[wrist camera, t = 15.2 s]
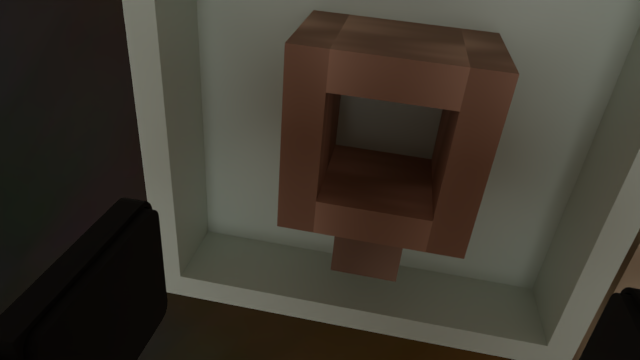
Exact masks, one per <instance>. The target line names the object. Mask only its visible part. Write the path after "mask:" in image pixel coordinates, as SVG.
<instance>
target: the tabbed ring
mask: <svg viewBox="0 0 640 360" xmlns="http://www.w3.org/2000/svg"><path fill="white" fill-rule="evenodd" d="M518 78H519V72H518V70H517V68H516V66H515V64H514V62H513V60H512V58H511V56H510V54H509V52H508V50H507V48H506V46H505V44H504V42H503V39H502V37H501V35H500V33H494V32H486V31H478V30H470V29H462V28H454V27H446V26H438V25H430V24H422V23H414V22H406V21H398V20H390V19H382V18H374V17H366V16H358V15H350V14H341V13H333V12H325V11H317V10H313V11H312V13H311V14H310V15H309V16H308V17H307V18H306V19H305V20H304V22H303V23H302V24H301V25H300V26H299V27H298V28H297V30H296V31H295V32H294V33H293V34H292V35H291V36H290V38H289V39H288V40H287V41H286V42H285V49H284V72H283V96H282V120H281V144H280V168H279V192H278V216H277V226H279V227H284V228H290V229H296V230H302V231H307V232H313V233H319V234H324V235H330V236H335V237H334V245H333V254H332V262H331V270H334V271H339V272H344V273H350V274H355V275H361V276H366V277H372V278H377V279H383V280H388V281H394V282H396V278H397V273H398V269H399V264H400V259H401V255H402V250H403V248H404V249H410V250H416V251H421V252H427V253H433V254H438V255H444V256H450V257H456V258H461V259H464V258H465V254H466V251H467V248H468V244H469V241H470V238H471V234H472V231H473V228H474V224H475V221H476V218H477V214H478V211H479V208H480V204H481V201H482V198H483V194H484V191H485V188H486V184H487V181H488V178H489V174H490V171H491V168H492V164H493V161H494V158H495V154H496V151H497V148H498V144H499V141H500V138H501V134H502V131H503V128H504V124H505V121H506V118H507V114H508V111H509V108H510V104H511V101H512V98H513V94H514V91H515V88H516V84H517V81H518ZM341 95H347V96H354V97H361V98H368V99H375V100H382V101H389V102H396V103H403V104H410V105H417V106H424V107H431V108H438V109H443V111H442V115H441V119H440V124H439V128H438V133H437V137H436V142H435V146H434V151H433V155H432V159H426V158H420V157H414V156H407V155H401V154H394V153H388V152H381V151H375V150H368V149H362V148H355V147H349V146H342V145H336V137H337V127H338V118H339V109H340V99H341Z"/></svg>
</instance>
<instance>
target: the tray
mask: <svg viewBox="0 0 640 360" xmlns="http://www.w3.org/2000/svg"><path fill="white" fill-rule="evenodd" d="M122 4H123V12H124V20H125V28H126V36H127V44H128V51H129V59H130V67H131V75H132V83H133V91H134V99H135V107H136V115H137V123H138V131H139V138H140V146H141V154H142V162H143V170H144V178H145V186H146V194H147V202H149V203H150V204H151V206H152V209H153V210H156V211H157V212H158V214H159V222H160V232H161V242H162V252H163V262H164V272H165V282H166V292H169V293H174V294H179V295H184V296H190V297H195V298H200V299H205V300H210V301H215V302H221V303H226V304H231V305H236V306H241V307H246V308H251V309H257V310H262V311H267V312H272V313H277V314H282V315H288V316H293V317H298V318H303V319H308V320H313V321H319V322H324V323H329V324H334V325H339V326H344V327H349V328H355V329H360V330H365V331H370V332H375V333H380V334H386V335H391V336H396V337H401V338H406V339H411V340H417V341H422V342H427V343H432V344H437V345H442V346H447V347H453V348H458V349H463V350H468V351H473V352H478V353H484V354H489V355H494V356H499V357H504V358H509V359H514V360H572V359H573V357H574V355H575V353H576V351H577V349H578V347H579V345H580V343H581V341H582V339H583V338H584V336H585V334H586V332H587V330H588V328H589V326H590V324H591V322H592V320H593V318H594V316H595V314H596V312H597V310H598V308H599V307H600V305H601V303H602V301H603V299H604V297H605V295H606V293H607V291H608V289H609V287H610V285H611V283H612V281H613V279H614V277H615V276H616V274H617V272H618V270H619V268H620V266H621V264H622V262H623V260H624V258H625V256H626V254H627V252H628V250H629V248H630V246H631V245H632V243H633V241H634V239H635V237H636V235H637V233H638V231H639V229H640V0H122ZM313 10H317V11H325V12H333V13H341V14H350V15H358V16H366V17H374V18H382V19H390V20H398V21H406V22H414V23H422V24H430V25H438V26H446V27H454V28H462V29H470V30H478V31H486V32H494V33H500V35H501V37H502V39H503V42H504V44H505V46H506V48H507V50H508V52H509V54H510V56H511V58H512V60H513V62H514V64H515V66H516V68H517V70H518V72H519V78H518V81H517V84H516V88H515V91H514V94H513V98H512V101H511V104H510V108H509V111H508V114H507V118H506V121H505V124H504V128H503V131H502V134H501V138H500V141H499V144H498V148H497V151H496V154H495V158H494V161H493V164H492V168H491V171H490V174H489V178H488V181H487V184H486V188H485V191H484V194H483V198H482V201H481V204H480V208H479V211H478V214H477V218H476V221H475V224H474V228H473V231H472V234H471V238H470V241H469V244H468V248H467V251H466V254H465V258H464V259H461V258H456V257H450V256H444V255H438V254H433V253H427V252H421V251H416V250H410V249H404V248H403V250H402V255H401V259H400V264H399V269H398V273H397V278H396V282H394V281H388V280H383V279H377V278H372V277H366V276H361V275H355V274H350V273H344V272H339V271H334V270H331V262H332V254H333V245H334V237H335V236H330V235H324V234H319V233H313V232H307V231H302V230H296V229H290V228H284V227H279V226H277V216H278V192H279V168H280V144H281V120H282V96H283V72H284V49H285V42H286V41H287V40H288V39H289V38H290V36H291V35H292V34H293V33H294V32H295V31H296V30H297V28H298V27H299V26H300V25H301V24H302V23H303V22H304V20H305V19H306V18H307V17H308V16H309V15H310V14H311V13H312V11H313ZM442 111H443V109H438V108H431V107H424V106H417V105H410V104H403V103H396V102H389V101H382V100H375V99H368V98H361V97H354V96H347V95H341V99H340V109H339V118H338V127H337V137H336V145H342V146H349V147H355V148H362V149H368V150H375V151H381V152H388V153H394V154H401V155H407V156H414V157H420V158H426V159H432V155H433V151H434V146H435V142H436V137H437V133H438V128H439V124H440V119H441V115H442Z"/></svg>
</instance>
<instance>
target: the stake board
mask: <svg viewBox="0 0 640 360" xmlns="http://www.w3.org/2000/svg"><path fill="white" fill-rule="evenodd" d="M626 287H631V288H637V289H640V229H639V231H638V233H637V235H636V237H635V239H634V241H633V243H632V245H631V246H630V248H629V250H628V252H627V254H626V256H625V258H624V260H623V262H622V264H621V266H620V268H619V270H618V272H617V274H616V276H615V277H614V279H613V281H612V283H611V285H610V287H609V289H608V291H607V293H606V295H605V297H604V299H603V301H602V303H601V305H600V307H599V308H598V310H597V312H596V314H595V316H594V318H593V320H592V322H591V324H590V326H589V328H588V330H587V332H586V334H585V336H584V338H583V339H582V341H581V343H580V345H579V347H578V349H577V351H576V353H575V355H574V357H573V359H572V360H579V358H580V356H581V354H582V352H583V350H584V348H585V346H586V344H587V342H588V340H589V338H590V336H591V334H592V332H593V330H594V328H595V326H596V324H597V322H598V320H599V318H600V316H601V314H602V312H603V310H604V308H605V306H606V304H607V302H608V300H609V298H610V297H611V295H612V294H613V293H621V291H622V290H623V289H624V288H626Z"/></svg>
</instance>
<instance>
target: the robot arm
mask: <svg viewBox="0 0 640 360" xmlns="http://www.w3.org/2000/svg"><path fill="white" fill-rule="evenodd" d="M166 309H167V293H166V282H165V272H164V262H163V252H162V242H161V232H160V222H159V214H158V212H157V211H156V210H153V209H152V206H151V204H150V203H149V202H146V201H140V200H134V199H129V198H121V199H119V200H118V201H117V202H116V203H115V204H114V205H113V206H112V207H111V208H110V209H109V210H108V211H107V212H106V213H105V214H104V215H103V216H102V217H101V218H99V219H98V220H97V221H96V222H95V223H94V224H93V225H92V226H91V227H90V228H89V229H88V230H87V231H86V232H85V233H84V234H83V235H82V236H81V237H80V238H79V239H78V240H77V241H76V242H75V243H74V244H73V245H72V246H71V247H70V248H69V249H68V250H67V251H66V252H65V253H64V254H63V255H62V256H61V257H59V258H58V259H57V260H56V261H55V262H54V263H53V264H52V265H51V266H50V267H49V268H48V269H47V270H46V271H45V272H44V273H43V274H42V275H41V276H40V277H39V278H38V279H37V280H36V281H35V282H34V283H33V284H32V285H31V286H30V287H29V288H28V289H27V290H26V291H25V292H24V293H23V294H22V295H21V296H20V297H18V298H17V299H16V300H15V301H14V302H13V303H12V304H11V305H10V306H9V307H8V308H7V309H6V310H5V311H4V312H3V313H2V314H1V315H0V360H137V359H138V357H139V356H140V354H141V353H142V351H143V349H144V348H145V346H146V345H147V343H148V341H149V340H150V338H151V337H152V335H153V333H154V332H155V330H156V329H157V327H158V326H159V324H160V322H161V321H162V319H163V317H164V315H165V312H166ZM579 360H640V289H637V288H631V287H626V288H624V289H623V290H622V291H621V293H613V294H612V295H611V297H610V298H609V300H608V302H607V304H606V306H605V308H604V310H603V312H602V314H601V316H600V318H599V320H598V322H597V324H596V326H595V328H594V330H593V332H592V334H591V336H590V338H589V340H588V342H587V344H586V346H585V348H584V350H583V352H582V354H581V356H580V358H579Z"/></svg>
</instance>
